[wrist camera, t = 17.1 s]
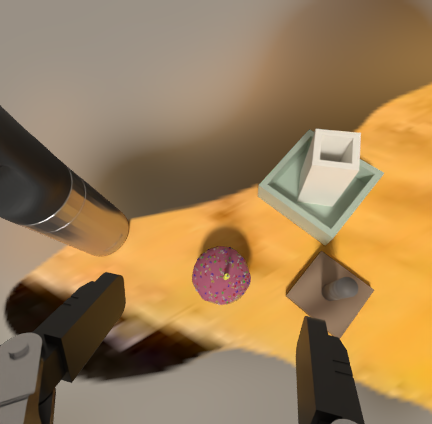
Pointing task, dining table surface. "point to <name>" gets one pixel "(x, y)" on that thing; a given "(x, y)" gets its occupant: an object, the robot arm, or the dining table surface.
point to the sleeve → (329, 166)
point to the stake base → (321, 306)
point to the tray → (312, 213)
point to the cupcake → (221, 275)
